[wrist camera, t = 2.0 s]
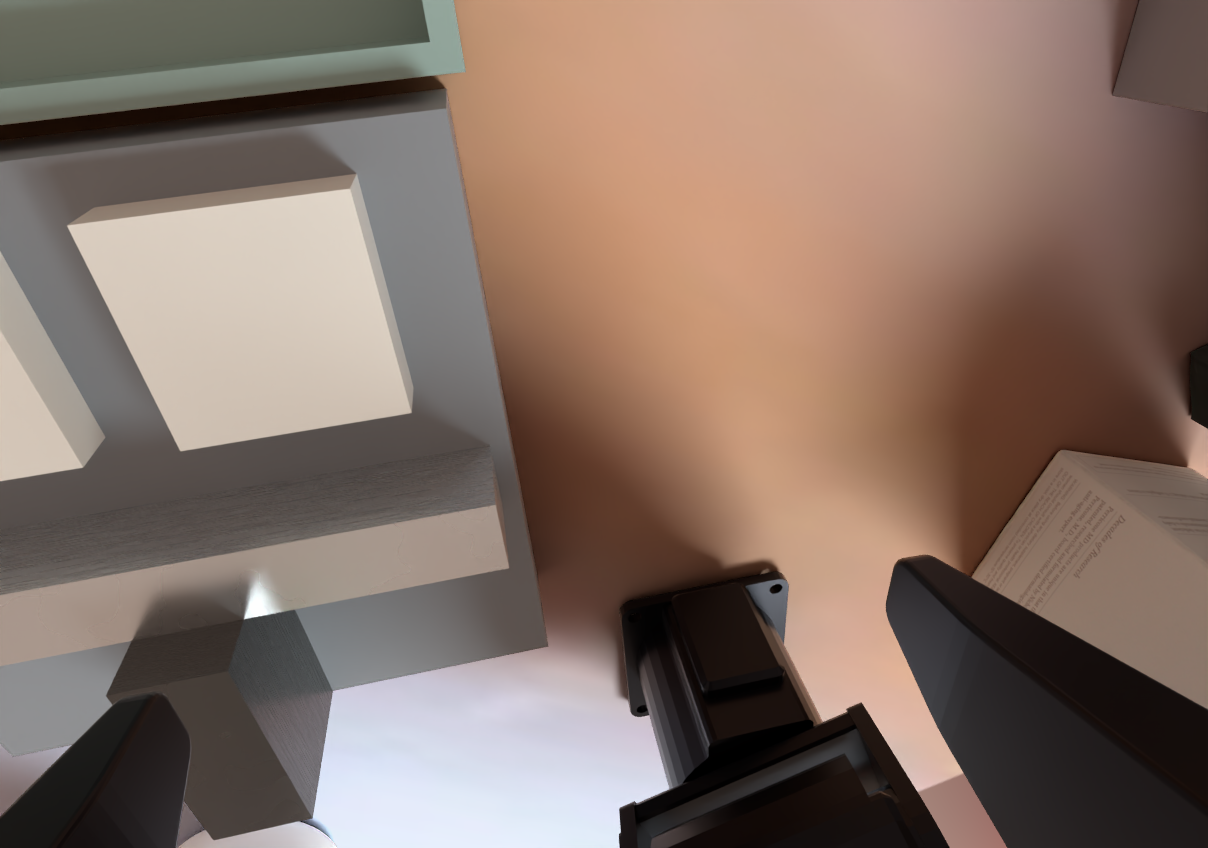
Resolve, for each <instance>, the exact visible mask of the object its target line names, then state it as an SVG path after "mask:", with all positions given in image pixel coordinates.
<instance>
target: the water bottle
mask: <svg viewBox="0 0 1208 848" xmlns="http://www.w3.org/2000/svg"><path fill="white" fill-rule="evenodd" d="M178 848H337V846H336V845H335V843H334V842H333V841H332V840H331V839H330V838H329V837H328V836H327V835H326V834H324V833H323V832H321V831H320V830H318V829H316V828H315V827H313V826H310V825H308V824H305V823H302V822H299V821H298V822H294V823H289V824H285V825H280V826H276V827H272V828H267V829H263V830H258V831H254V832H249V833H245V834H240V835H236V836H232V837H227V838H223V839H218V840H213V839H212V838H211V836H210V835H209V834H208V832H207V831H206V830H204V831H202V832H200V833H198V834H196V835H194V836H193V837H191V838H190V839H188V840H187V841H185V842H184V843H183V844H181V845H180V846H179V847H178Z"/></svg>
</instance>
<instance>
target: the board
mask: <svg viewBox="0 0 1208 848" xmlns="http://www.w3.org/2000/svg"><path fill="white" fill-rule="evenodd" d="M351 174H357V176H358V180H359V184H360V188H361V191H362V195H363V199H364V203H365V207H366V210H367V214H368V218H369V222H370V225H371V229H372V233H373V237H374V240H375V244H376V248H377V252H378V255H379V259H380V263H381V267H382V270H383V274H384V278H385V282H386V286H387V289H388V293H389V297H390V301H391V304H392V308H393V312H394V316H395V319H396V323H397V327H398V331H399V334H400V338H401V342H402V346H403V350H404V353H405V357H406V361H407V365H408V368H409V372H410V376H411V380H412V383H413V387H414V388H413V401H412V413H409V414H403V415H397V416H391V417H385V418H379V419H373V420H367V421H361V422H355V423H349V424H343V425H336V426H330V427H324V428H318V429H312V430H306V431H300V432H294V433H288V434H282V435H276V436H270V437H264V438H258V439H252V440H246V441H240V442H234V443H228V444H222V445H216V446H210V447H204V448H198V449H192V450H186V451H180V450H179V448H178V446H177V444H176V442H175V440H174V438H173V436H172V434H171V432H170V430H169V428H168V426H167V424H166V422H165V420H164V418H163V416H162V414H161V412H160V410H159V408H158V406H157V404H156V402H155V400H154V398H153V396H152V394H151V392H150V390H149V388H148V386H147V384H146V382H145V380H144V378H143V376H142V374H141V372H140V370H139V368H138V366H137V364H136V362H135V360H134V358H133V356H132V354H131V352H130V350H129V348H128V346H127V344H126V342H125V340H124V338H123V336H122V334H121V332H120V330H119V328H118V326H117V324H116V322H115V320H114V318H113V316H112V314H111V312H110V310H109V308H108V306H107V304H106V302H105V300H104V298H103V296H102V294H101V292H100V290H99V288H98V286H97V284H96V283H95V281H94V279H93V277H92V275H91V273H90V271H89V269H88V267H87V265H86V263H85V261H84V259H83V257H82V255H81V253H80V251H79V249H78V247H77V245H76V243H75V241H74V239H73V237H72V235H71V233H70V231H69V229H68V227H67V225H68V224H70V223H71V222H73V221H74V220H76V219H77V218H79V217H80V216H82V215H84V214H85V213H87V212H88V211H90V210H91V209H93V208H94V207H101V206H109V205H117V204H124V203H132V202H140V201H148V200H156V199H163V198H171V197H179V196H187V195H195V194H202V193H210V192H218V191H226V190H234V189H242V188H249V187H257V186H265V185H273V184H281V183H288V182H296V181H304V180H312V179H320V178H327V177H335V176H343V175H351ZM0 252H1V254H2V255H3V257H4V259H5V261H6V262H7V264H8V266H9V268H10V269H11V271H12V273H13V275H14V277H15V278H16V280H17V282H18V284H19V285H20V287H21V289H22V291H23V292H24V294H25V296H26V298H27V300H28V301H29V303H30V305H31V307H32V308H33V310H34V312H35V314H36V315H37V317H38V319H39V321H40V322H41V324H42V326H43V328H44V330H45V331H46V333H47V335H48V337H49V338H50V340H51V342H52V344H53V345H54V347H55V349H56V351H57V353H58V354H59V356H60V358H61V360H62V361H63V363H64V365H65V367H66V368H67V370H68V372H69V374H70V376H71V377H72V379H73V381H74V383H75V384H76V386H77V388H78V390H79V391H80V393H81V395H82V397H83V398H84V400H85V402H86V404H87V406H88V407H89V409H90V411H91V413H92V414H93V416H94V418H95V420H96V421H97V423H98V425H99V427H100V429H101V430H102V432H103V434H104V436H105V439H104V440H103V441H102V443H101V444H100V445H99V447H98V448H97V450H96V451H95V452H94V454H93V455H92V456H91V458H90V459H89V460H88V462H87V463H86V464H85V466H84V467H83V468H77V469H71V470H65V471H59V472H53V473H47V474H41V475H35V476H29V477H23V478H17V479H11V480H5V481H0V529H6V528H12V527H17V526H23V525H29V524H35V523H40V522H46V521H52V520H58V519H64V518H69V517H75V516H81V515H87V514H93V513H98V512H104V511H110V510H116V509H121V508H127V507H133V506H139V505H145V504H150V503H156V502H162V501H168V500H173V499H179V498H185V497H191V496H197V495H202V494H208V493H214V492H220V491H226V490H231V489H237V488H243V487H249V486H254V485H260V484H266V483H272V482H278V481H283V480H289V479H295V478H301V477H306V476H312V475H318V474H324V473H330V472H335V471H341V470H347V469H353V468H359V467H364V466H370V465H376V464H382V463H387V462H393V461H399V460H405V459H411V458H416V457H422V456H428V455H434V454H439V453H445V452H451V451H457V450H463V449H468V448H474V447H480V446H486V445H490V447H491V452H492V457H493V461H494V466H495V471H496V476H497V481H498V485H499V490H500V495H501V500H502V505H503V514H504V524H505V533H506V542H507V552H508V561H509V568H507V569H502V570H497V571H492V572H487V573H481V574H476V575H471V576H466V577H461V578H455V579H450V580H445V581H440V582H435V583H429V584H424V585H419V586H414V587H409V588H404V589H398V590H393V591H388V592H383V593H378V594H372V595H367V596H362V597H357V598H352V599H346V600H341V601H336V602H331V603H326V604H321V605H315V606H310V607H305V608H300V609H295V610H296V613H297V615H298V617H299V619H300V621H301V623H302V625H303V628H304V630H305V632H306V634H307V636H308V638H309V641H310V643H311V645H312V647H313V649H314V651H315V654H316V656H317V658H318V660H319V662H320V664H321V666H322V669H323V671H324V673H325V675H326V677H327V679H328V682H329V684H330V686H331V688H332V690H333V691H334V690H339V689H344V688H349V687H354V686H358V685H363V684H368V683H373V682H378V681H383V680H388V679H392V678H397V677H402V676H407V675H412V674H417V673H421V672H426V671H431V670H436V669H441V668H446V667H451V666H455V665H460V664H465V663H470V662H475V661H480V660H485V659H489V658H494V657H499V656H504V655H509V654H514V653H518V652H523V651H528V650H533V649H538V648H543V647H548V642H547V636H546V629H545V622H544V616H543V609H542V603H541V596H540V589H539V583H538V577H537V571H536V566H535V561H534V555H533V550H532V545H531V539H530V534H529V529H528V523H527V518H526V513H525V507H524V502H523V497H522V491H521V486H520V480H519V475H518V470H517V464H516V459H515V454H514V448H513V443H512V438H511V432H510V427H509V422H508V416H507V411H506V405H505V400H504V395H503V389H502V384H501V379H500V373H499V368H498V363H497V357H496V352H495V347H494V341H493V336H492V330H491V325H490V320H489V314H488V309H487V304H486V298H485V293H484V288H483V282H482V277H481V272H480V266H479V261H478V255H477V250H476V245H475V239H474V234H473V229H472V223H471V218H470V213H469V207H468V202H467V197H466V191H465V186H464V181H463V175H462V170H461V164H460V159H459V154H458V148H457V143H456V138H455V132H454V127H453V122H452V116H451V111H450V106H449V100H448V95H447V89H446V88H444V89H436V90H427V91H418V92H410V93H401V94H393V95H384V96H375V97H367V98H358V99H350V100H341V101H333V102H324V103H315V104H307V105H298V106H290V107H281V108H273V109H264V110H255V111H247V112H238V113H230V114H221V115H212V116H204V117H195V118H187V119H178V120H170V121H161V122H152V123H144V124H135V125H127V126H118V127H110V128H101V129H92V130H84V131H75V132H67V133H58V134H49V135H41V136H32V137H24V138H15V139H7V140H0ZM130 643H131V641H129V642H123V643H118V644H113V645H108V646H103V647H97V648H92V649H87V650H82V651H77V652H71V653H66V654H61V655H56V656H51V657H46V658H40V659H35V660H30V661H25V662H20V663H14V664H9V665H4V666H0V744H1V745H2V746H3V747H4V748H5V749H6V750H7V751H8V752H9V753H10V754H11V755H12V756H13V757H14V756H19V755H24V754H29V753H34V752H38V751H43V750H48V749H53V748H58V747H63V746H67V745H72V744H74V743H75V742H76V741H77V740H78V739H79V738H80V737H81V736H82V735H83V734H84V733H85V732H86V731H87V730H88V729H89V728H90V727H91V726H92V725H93V724H94V723H95V722H96V721H97V720H98V719H99V718H100V717H101V716H102V715H103V714H104V713H105V712H106V711H107V710H108V709H109V708H110V707H111V706H112V704H111V702H110V701H109V700H108V698H107V697H106V694H107V692H108V690H109V688H110V686H111V684H112V681H113V679H114V677H115V675H116V673H117V671H118V669H119V667H120V665H121V662H122V660H123V658H124V656H125V654H126V652H127V650H128V648H129V645H130Z"/></svg>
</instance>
